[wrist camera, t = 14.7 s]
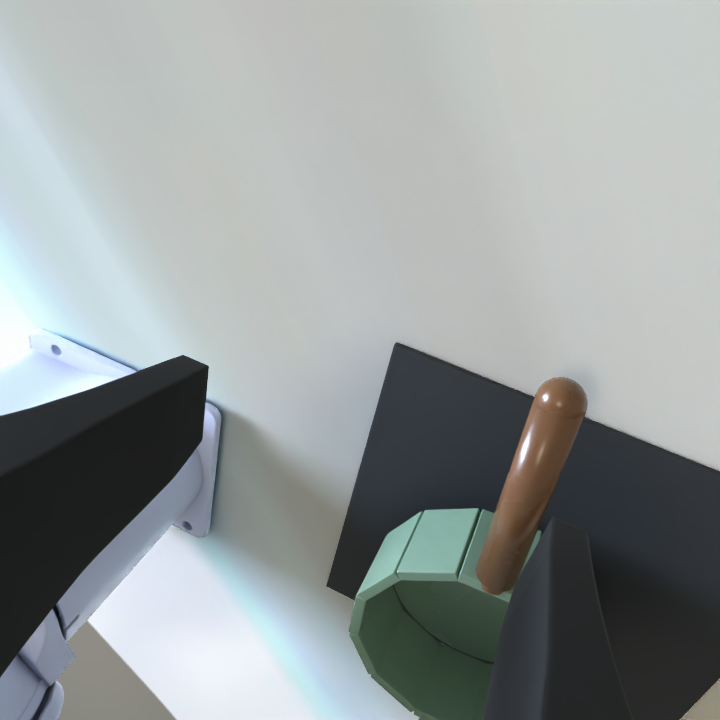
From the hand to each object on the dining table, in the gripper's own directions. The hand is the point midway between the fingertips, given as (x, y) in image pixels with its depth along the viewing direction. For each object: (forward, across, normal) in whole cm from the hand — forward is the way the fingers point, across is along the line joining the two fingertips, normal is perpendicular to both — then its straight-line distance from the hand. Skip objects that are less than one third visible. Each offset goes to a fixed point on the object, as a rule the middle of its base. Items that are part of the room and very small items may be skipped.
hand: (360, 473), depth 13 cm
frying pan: (+9, -4, +8) cm, 13 cm away
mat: (+9, -6, +10) cm, 15 cm away
